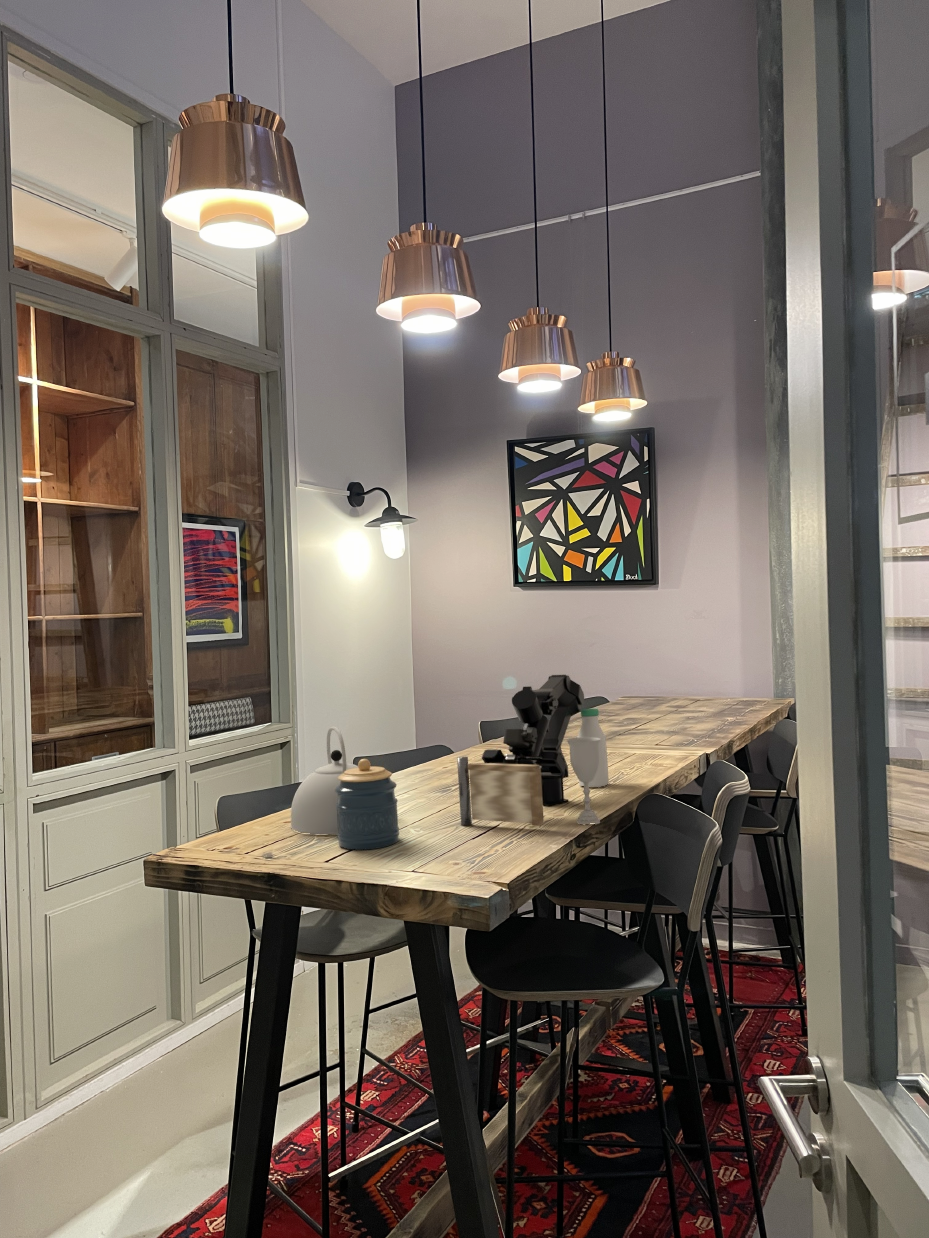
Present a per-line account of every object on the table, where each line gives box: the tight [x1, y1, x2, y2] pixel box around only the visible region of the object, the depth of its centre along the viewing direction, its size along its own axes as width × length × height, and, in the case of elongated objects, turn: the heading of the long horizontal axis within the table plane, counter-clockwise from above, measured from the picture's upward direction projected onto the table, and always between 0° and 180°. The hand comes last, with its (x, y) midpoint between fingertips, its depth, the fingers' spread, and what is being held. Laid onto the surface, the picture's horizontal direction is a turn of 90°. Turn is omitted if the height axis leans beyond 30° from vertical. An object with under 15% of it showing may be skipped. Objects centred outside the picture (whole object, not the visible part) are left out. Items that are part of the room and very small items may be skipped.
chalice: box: [566, 737, 601, 825], centre depth 198 cm, size 7×7×18 cm
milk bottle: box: [577, 708, 610, 788], centre depth 238 cm, size 8×8×20 cm
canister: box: [335, 758, 400, 851], centre depth 192 cm, size 13×13×18 cm
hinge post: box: [456, 756, 473, 827], centre depth 202 cm, size 2×2×15 cm
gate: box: [468, 762, 545, 827], centre depth 197 cm, size 17×2×12 cm, turn 60°
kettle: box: [290, 726, 358, 834], centre depth 213 cm, size 25×23×22 cm
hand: (513, 793), depth 201 cm, fingers closed
